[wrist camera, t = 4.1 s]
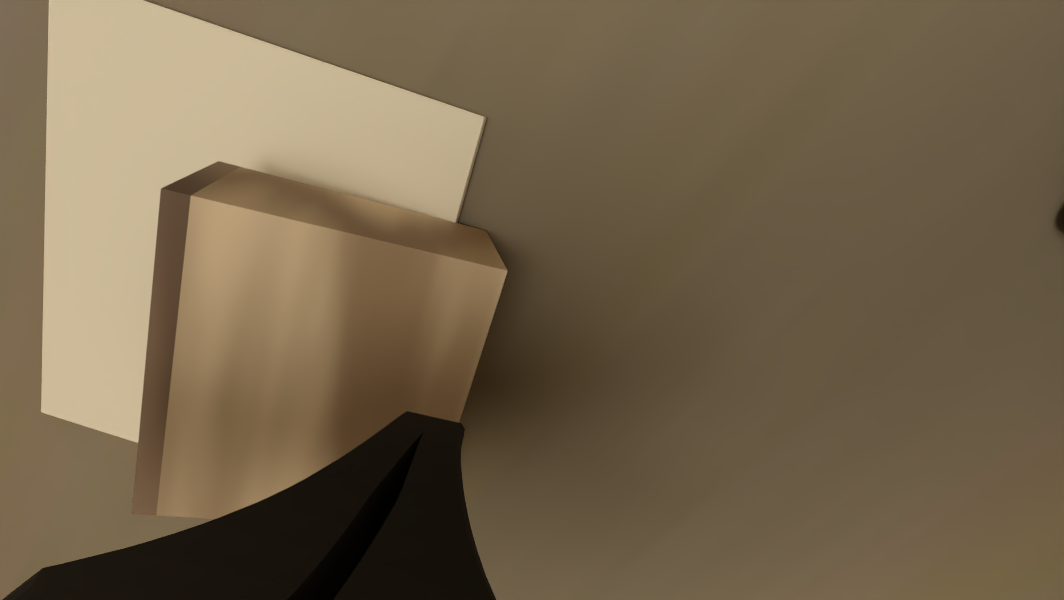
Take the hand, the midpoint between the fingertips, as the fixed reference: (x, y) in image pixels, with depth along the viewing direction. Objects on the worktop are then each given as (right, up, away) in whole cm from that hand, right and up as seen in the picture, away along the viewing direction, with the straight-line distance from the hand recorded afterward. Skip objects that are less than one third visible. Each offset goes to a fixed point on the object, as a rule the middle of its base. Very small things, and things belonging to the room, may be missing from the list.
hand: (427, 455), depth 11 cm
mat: (-7, +4, +5) cm, 9 cm away
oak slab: (0, +1, +3) cm, 4 cm away
